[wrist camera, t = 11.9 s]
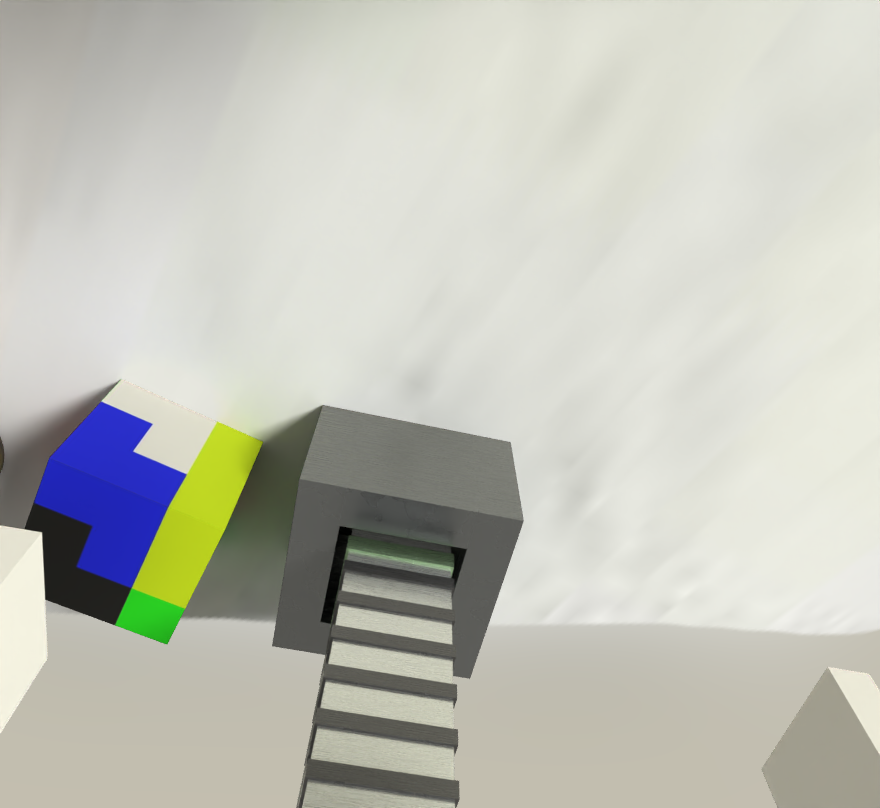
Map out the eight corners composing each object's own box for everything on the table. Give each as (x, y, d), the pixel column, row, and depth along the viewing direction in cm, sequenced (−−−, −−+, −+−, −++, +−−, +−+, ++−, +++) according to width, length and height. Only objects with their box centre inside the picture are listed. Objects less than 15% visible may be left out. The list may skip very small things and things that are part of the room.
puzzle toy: (122, 378, 48) (49, 458, 39) (263, 441, 50) (224, 530, 41) (79, 489, 52) (5, 584, 43) (212, 543, 54) (167, 644, 45)
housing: (297, 555, 55) (262, 682, 44) (322, 405, 49) (289, 509, 38) (465, 585, 56) (471, 715, 45) (510, 442, 50) (529, 553, 39)
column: (334, 604, 46) (267, 963, 28) (350, 525, 43) (287, 869, 26) (431, 621, 47) (424, 982, 29) (453, 544, 44) (461, 892, 26)
